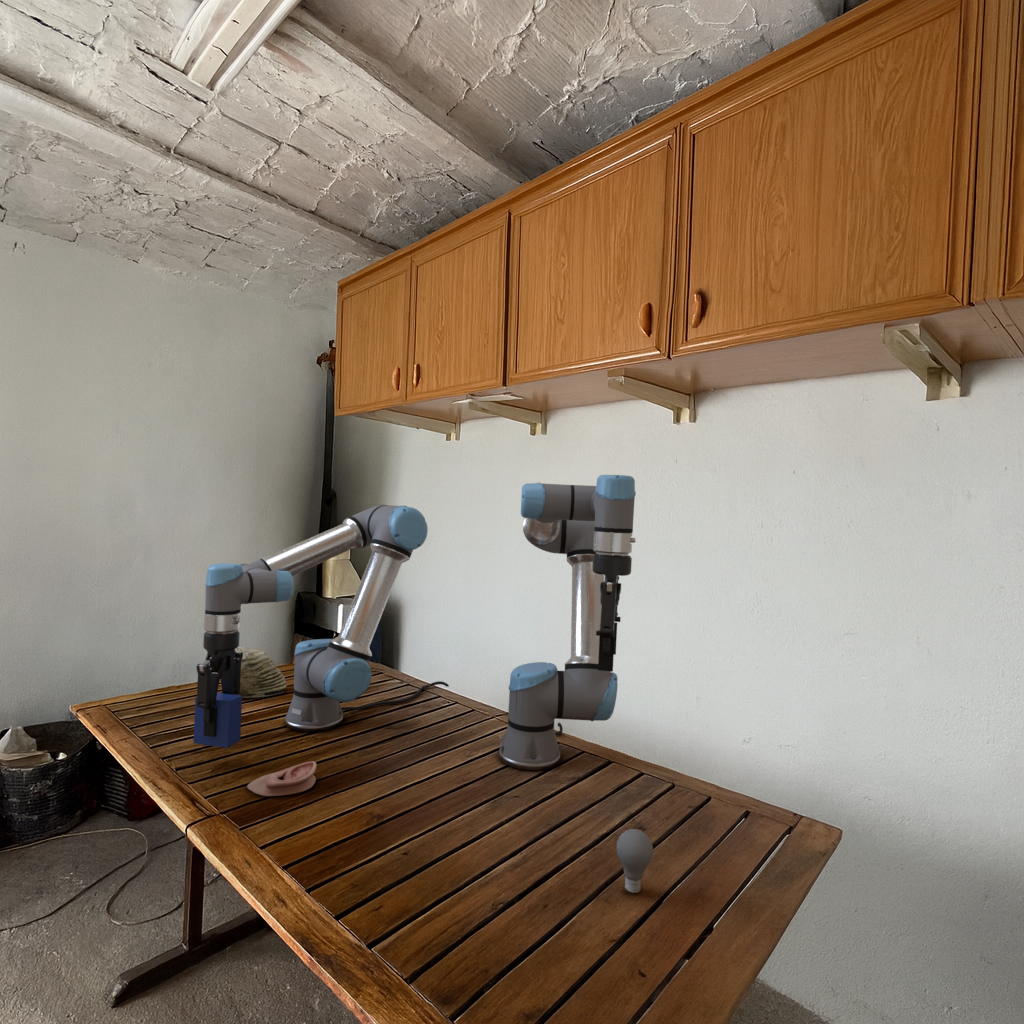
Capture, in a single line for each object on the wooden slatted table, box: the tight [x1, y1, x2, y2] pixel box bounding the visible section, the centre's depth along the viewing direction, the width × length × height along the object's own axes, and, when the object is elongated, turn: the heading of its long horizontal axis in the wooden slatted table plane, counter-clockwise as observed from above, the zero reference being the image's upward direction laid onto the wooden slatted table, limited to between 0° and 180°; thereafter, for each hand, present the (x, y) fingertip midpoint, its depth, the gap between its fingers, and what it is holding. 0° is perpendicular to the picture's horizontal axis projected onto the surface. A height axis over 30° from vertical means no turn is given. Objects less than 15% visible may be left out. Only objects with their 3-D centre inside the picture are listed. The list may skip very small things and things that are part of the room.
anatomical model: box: [246, 760, 317, 797], centre depth 138 cm, size 13×4×12 cm
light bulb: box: [615, 828, 654, 894], centre depth 106 cm, size 6×6×10 cm
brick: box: [193, 692, 243, 749], centre depth 146 cm, size 9×5×11 cm, turn 79°
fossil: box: [234, 646, 288, 699], centre depth 198 cm, size 9×18×15 cm, turn 132°
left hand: (217, 731), depth 146 cm, fingers closed on brick, 5 cm apart
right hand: (607, 661), depth 124 cm, fingers open, 13 cm apart
